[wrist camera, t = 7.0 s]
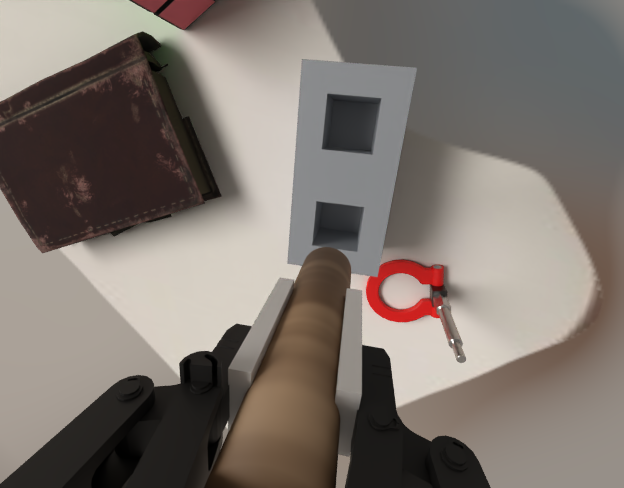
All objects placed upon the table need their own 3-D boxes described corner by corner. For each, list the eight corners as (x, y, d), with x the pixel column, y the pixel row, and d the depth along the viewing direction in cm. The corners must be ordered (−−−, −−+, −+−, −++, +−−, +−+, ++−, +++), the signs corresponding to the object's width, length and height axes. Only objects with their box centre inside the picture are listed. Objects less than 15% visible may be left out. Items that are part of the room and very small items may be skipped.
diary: (2, 115, 40) (-46, 113, 35) (162, 39, 34) (129, 24, 29) (74, 247, 45) (41, 260, 40) (225, 201, 39) (206, 210, 34)
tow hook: (368, 317, 42) (441, 318, 39) (364, 391, 30) (469, 398, 28) (364, 259, 39) (443, 257, 37) (358, 315, 27) (474, 317, 25)
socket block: (315, 75, 32) (301, 59, 25) (403, 83, 31) (416, 67, 24) (301, 237, 39) (287, 263, 31) (374, 248, 38) (377, 277, 30)
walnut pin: (305, 243, 20) (200, 451, 7) (354, 250, 20) (341, 482, 7) (301, 287, 21) (204, 535, 8) (347, 294, 21) (325, 566, 8)
